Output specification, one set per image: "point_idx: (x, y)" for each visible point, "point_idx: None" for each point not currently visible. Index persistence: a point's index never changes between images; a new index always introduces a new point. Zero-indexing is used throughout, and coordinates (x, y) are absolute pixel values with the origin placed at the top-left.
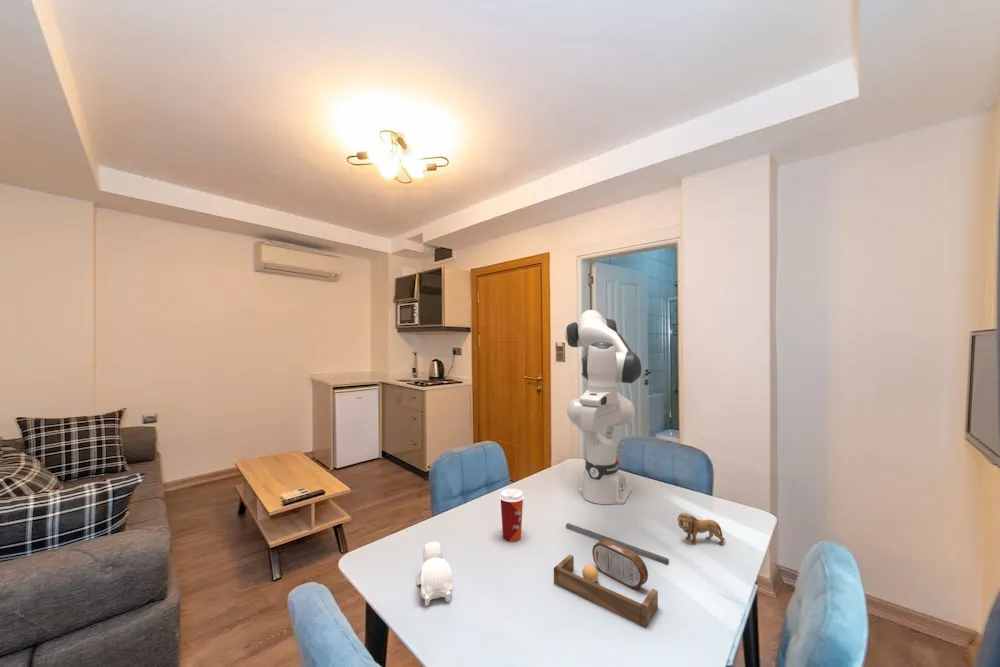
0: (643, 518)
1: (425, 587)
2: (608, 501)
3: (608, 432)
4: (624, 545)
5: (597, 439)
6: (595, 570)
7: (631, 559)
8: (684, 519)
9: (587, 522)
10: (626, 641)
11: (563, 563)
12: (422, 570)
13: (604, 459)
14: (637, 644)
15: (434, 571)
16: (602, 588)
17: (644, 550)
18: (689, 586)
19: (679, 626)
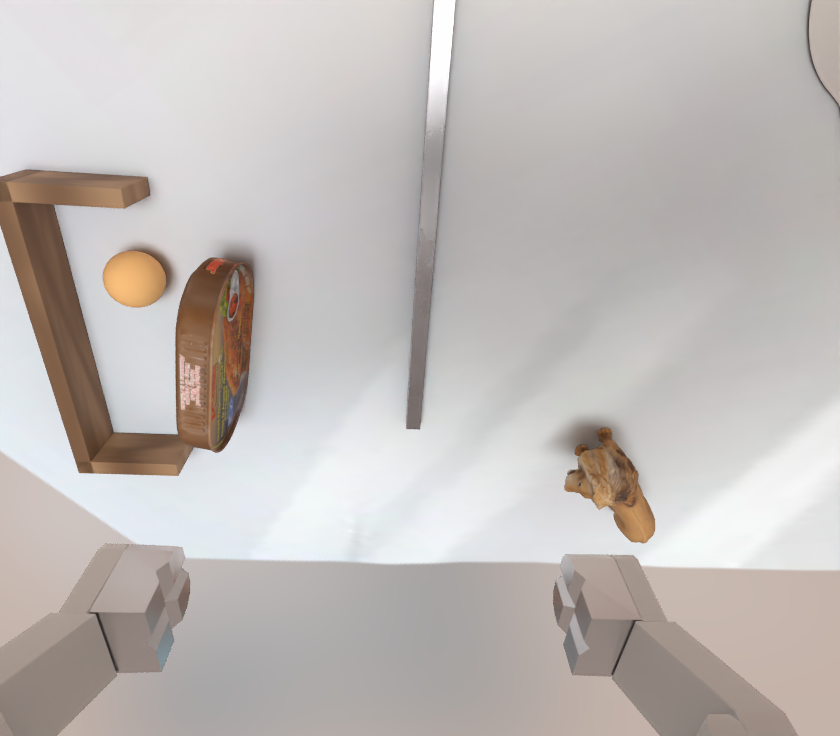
0: (711, 274)
1: None
2: (832, 72)
3: (627, 642)
4: (415, 297)
5: (93, 680)
6: (131, 305)
7: (178, 433)
8: (583, 491)
9: (555, 60)
10: (25, 424)
11: (45, 199)
12: None
13: None
14: (40, 443)
15: None
16: (51, 366)
17: (423, 362)
18: (340, 479)
19: (172, 490)
